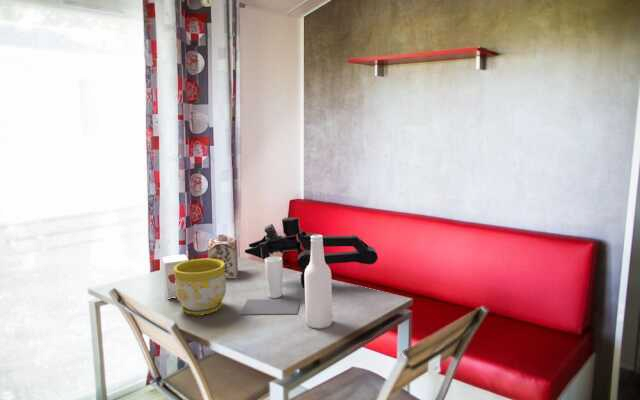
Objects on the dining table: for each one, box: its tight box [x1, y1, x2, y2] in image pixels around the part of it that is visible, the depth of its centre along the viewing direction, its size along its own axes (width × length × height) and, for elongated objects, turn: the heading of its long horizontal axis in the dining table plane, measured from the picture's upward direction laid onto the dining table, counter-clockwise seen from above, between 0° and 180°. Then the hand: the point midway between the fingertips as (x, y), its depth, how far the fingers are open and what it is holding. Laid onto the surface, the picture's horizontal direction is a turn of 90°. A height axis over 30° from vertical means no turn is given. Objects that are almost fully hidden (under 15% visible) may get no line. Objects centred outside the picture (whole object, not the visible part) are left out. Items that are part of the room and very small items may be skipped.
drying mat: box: [239, 298, 301, 316], centre depth 179 cm, size 20×14×1 cm
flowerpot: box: [174, 258, 227, 316], centre depth 177 cm, size 18×18×16 cm
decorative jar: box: [207, 233, 239, 279], centre depth 216 cm, size 12×12×18 cm
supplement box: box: [161, 253, 189, 299], centre depth 193 cm, size 9×9×15 cm
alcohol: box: [304, 234, 333, 330], centre depth 161 cm, size 9×9×30 cm
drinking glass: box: [264, 255, 284, 299], centre depth 188 cm, size 7×7×15 cm
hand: (247, 248), depth 199 cm, fingers open, 9 cm apart
